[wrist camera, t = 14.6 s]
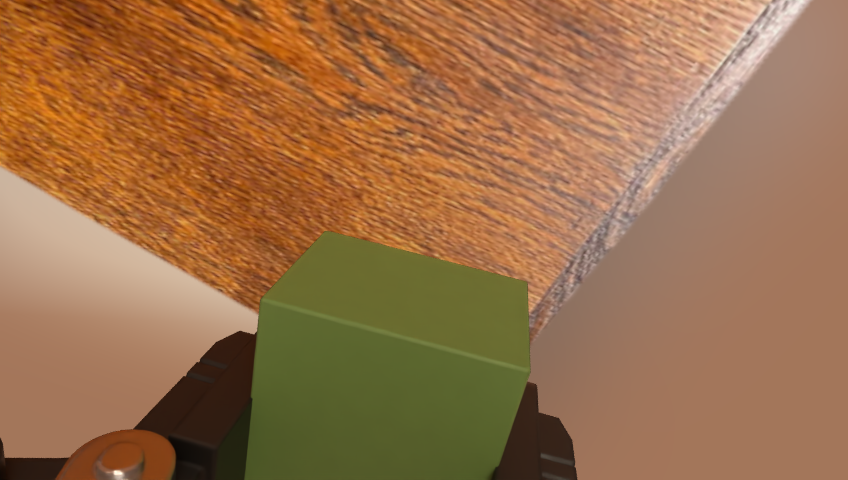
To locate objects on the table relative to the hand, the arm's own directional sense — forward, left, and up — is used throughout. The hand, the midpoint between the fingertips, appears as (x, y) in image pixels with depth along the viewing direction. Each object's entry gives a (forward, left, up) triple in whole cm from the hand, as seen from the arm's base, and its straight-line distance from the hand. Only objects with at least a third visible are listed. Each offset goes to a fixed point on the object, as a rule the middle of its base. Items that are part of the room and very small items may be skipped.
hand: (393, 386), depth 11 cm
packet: (0, 0, 0) cm, 0 cm away
